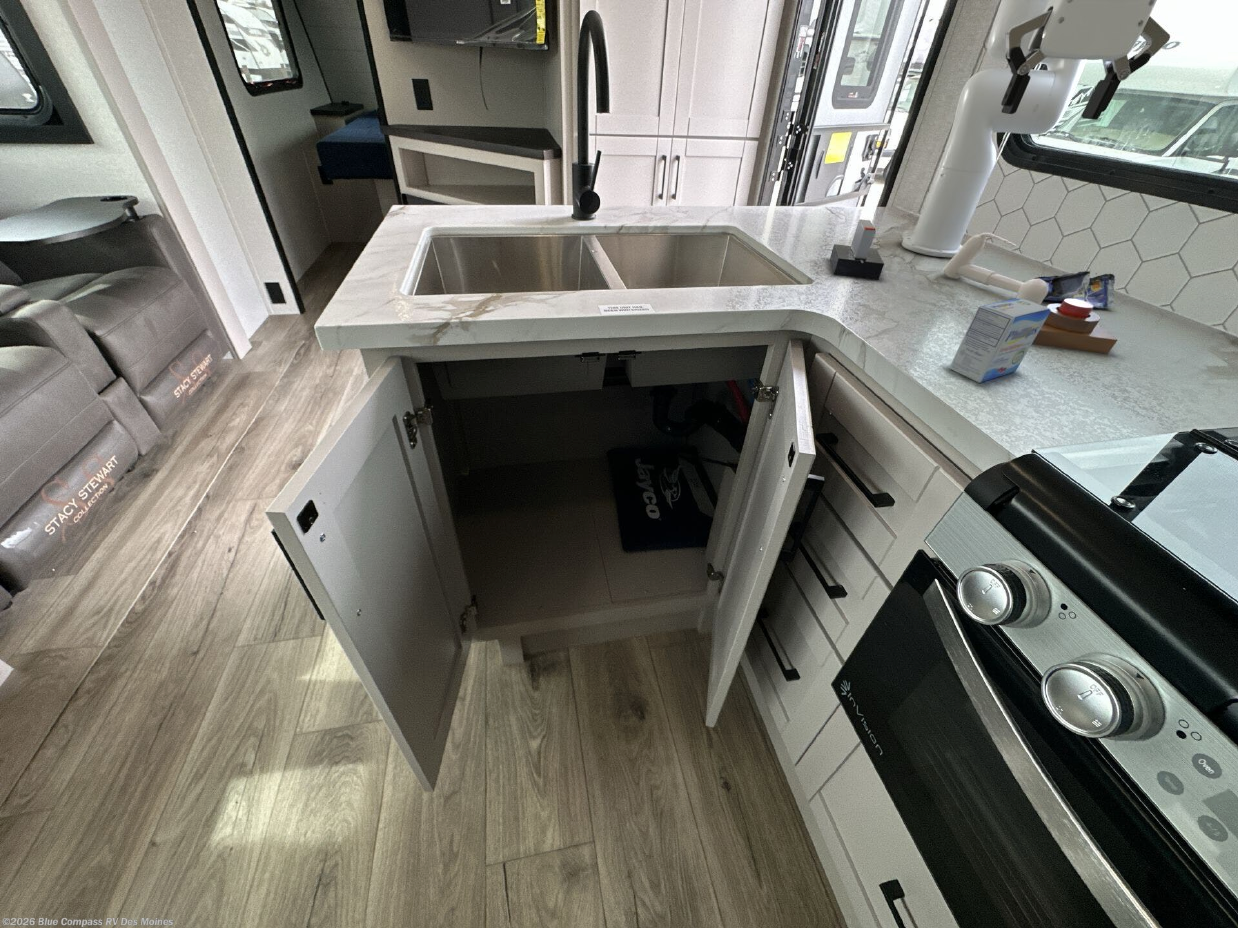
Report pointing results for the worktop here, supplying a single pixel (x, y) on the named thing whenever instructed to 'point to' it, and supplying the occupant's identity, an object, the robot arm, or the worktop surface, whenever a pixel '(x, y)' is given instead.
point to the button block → (1074, 332)
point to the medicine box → (998, 339)
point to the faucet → (963, 267)
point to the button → (1075, 308)
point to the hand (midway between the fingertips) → (1047, 116)
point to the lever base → (855, 263)
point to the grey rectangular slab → (863, 239)
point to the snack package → (1082, 288)
